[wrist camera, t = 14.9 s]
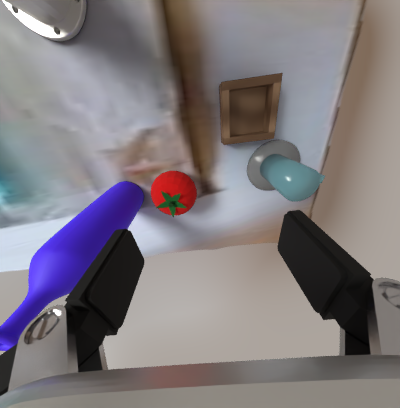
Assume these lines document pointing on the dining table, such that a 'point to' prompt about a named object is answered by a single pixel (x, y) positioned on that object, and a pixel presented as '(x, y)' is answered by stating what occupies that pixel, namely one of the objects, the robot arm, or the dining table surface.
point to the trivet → (263, 152)
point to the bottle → (71, 255)
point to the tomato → (173, 193)
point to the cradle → (249, 108)
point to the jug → (290, 177)
